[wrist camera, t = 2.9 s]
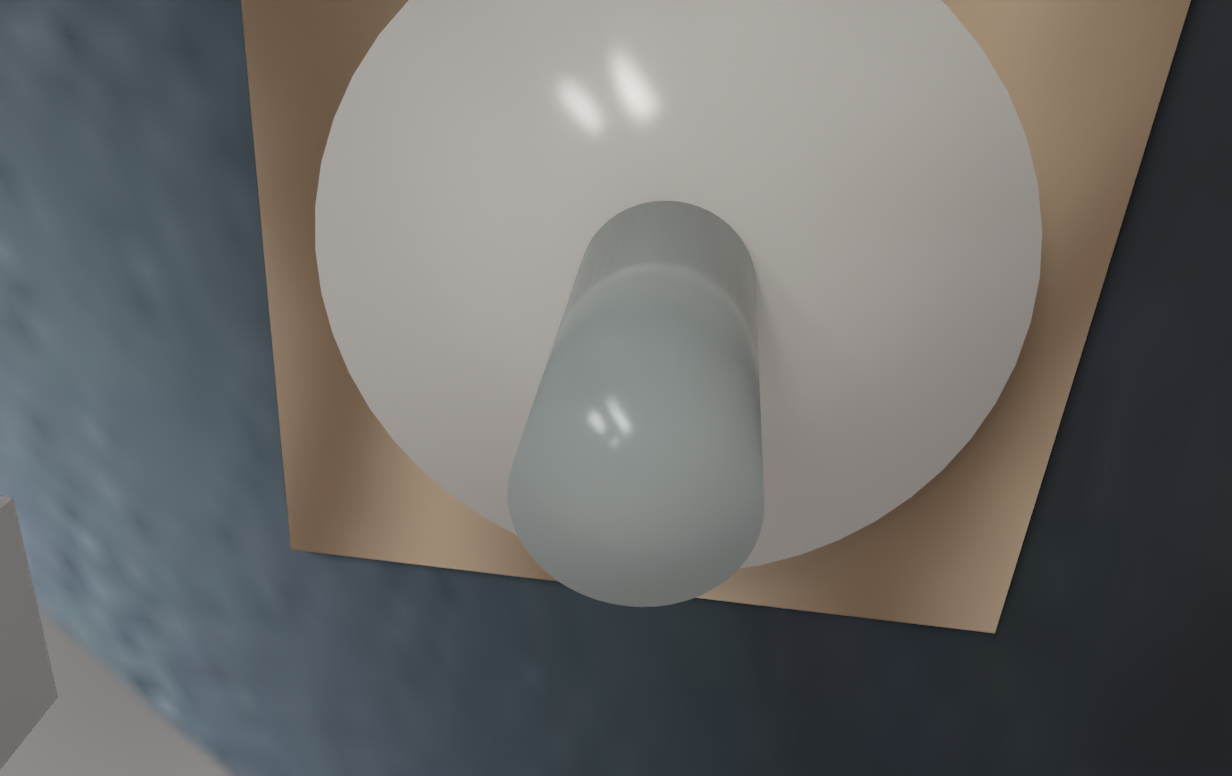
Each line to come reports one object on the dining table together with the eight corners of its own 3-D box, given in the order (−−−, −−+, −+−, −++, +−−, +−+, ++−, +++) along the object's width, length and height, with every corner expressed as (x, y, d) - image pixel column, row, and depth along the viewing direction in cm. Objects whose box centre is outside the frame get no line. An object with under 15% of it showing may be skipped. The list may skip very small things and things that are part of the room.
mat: (296, 539, 25) (290, 549, 25) (227, -258, 18) (217, -259, 17) (990, 621, 24) (994, 633, 24) (1235, -178, 17) (1246, -178, 16)
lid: (352, 503, 24) (190, 801, 17) (314, -145, 18) (30, -108, 11) (942, 570, 23) (1032, 910, 16) (1115, -81, 17) (1387, 6, 10)
